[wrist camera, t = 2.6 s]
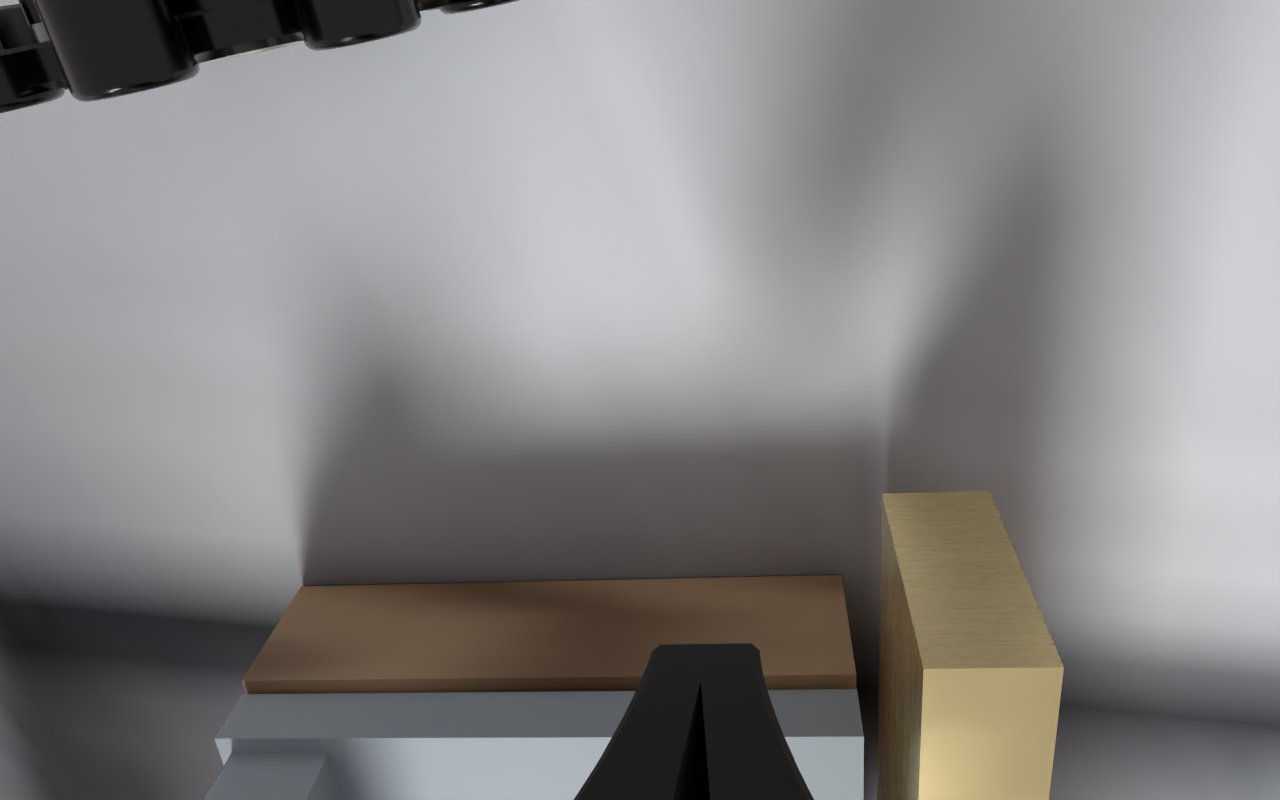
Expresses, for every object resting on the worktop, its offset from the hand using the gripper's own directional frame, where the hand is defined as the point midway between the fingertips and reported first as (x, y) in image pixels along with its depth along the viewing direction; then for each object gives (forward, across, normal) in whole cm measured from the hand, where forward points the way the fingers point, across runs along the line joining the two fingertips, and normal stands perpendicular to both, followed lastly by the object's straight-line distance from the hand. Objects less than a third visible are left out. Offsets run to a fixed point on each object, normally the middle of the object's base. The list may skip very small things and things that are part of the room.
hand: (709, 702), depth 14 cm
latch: (+3, -3, +6) cm, 7 cm away
